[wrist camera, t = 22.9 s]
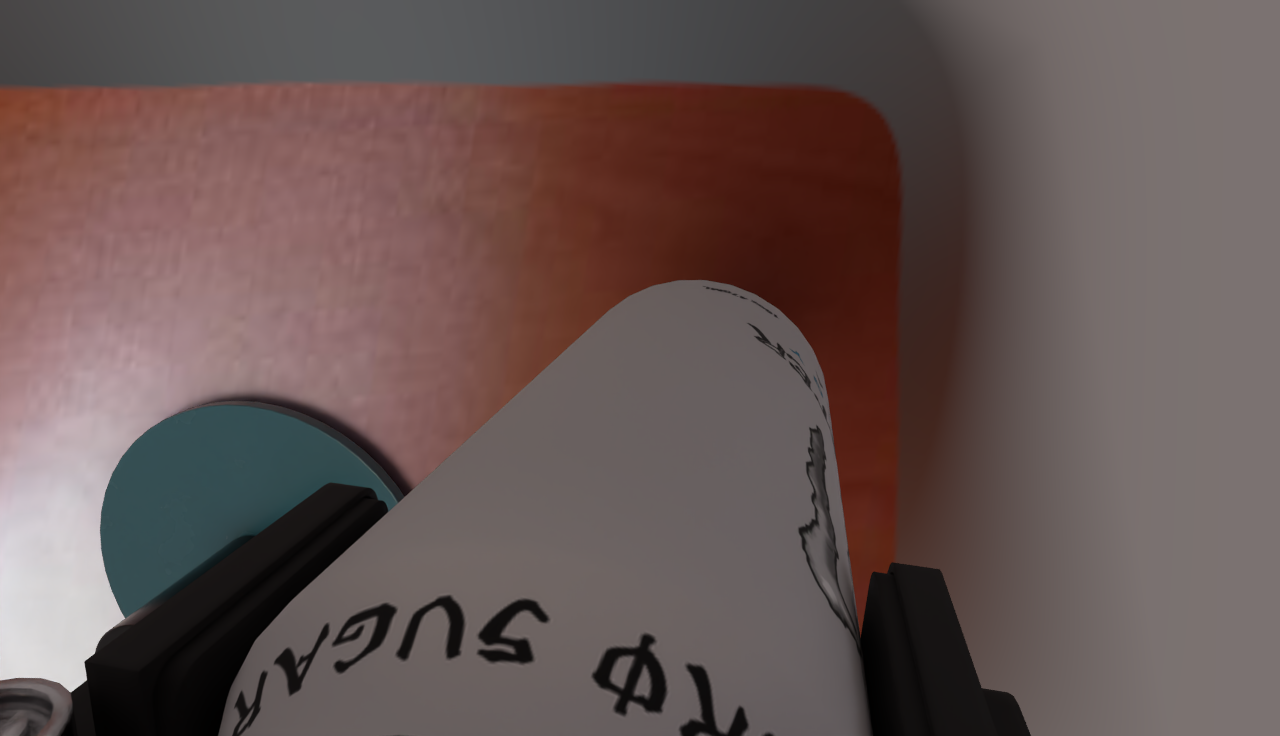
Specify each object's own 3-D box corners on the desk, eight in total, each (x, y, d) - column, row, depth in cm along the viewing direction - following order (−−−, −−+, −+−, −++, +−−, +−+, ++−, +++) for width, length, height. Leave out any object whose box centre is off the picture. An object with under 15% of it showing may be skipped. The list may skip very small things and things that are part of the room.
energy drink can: (835, 504, 20) (947, 1441, 5) (598, 515, 21) (187, 1303, 7) (815, 259, 18) (894, 670, 4) (560, 287, 20) (-63, 677, 5)
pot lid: (441, 417, 31) (338, 500, 24) (442, 732, 35) (355, 887, 28) (102, 377, 33) (-88, 443, 26) (140, 680, 37) (-16, 812, 30)
